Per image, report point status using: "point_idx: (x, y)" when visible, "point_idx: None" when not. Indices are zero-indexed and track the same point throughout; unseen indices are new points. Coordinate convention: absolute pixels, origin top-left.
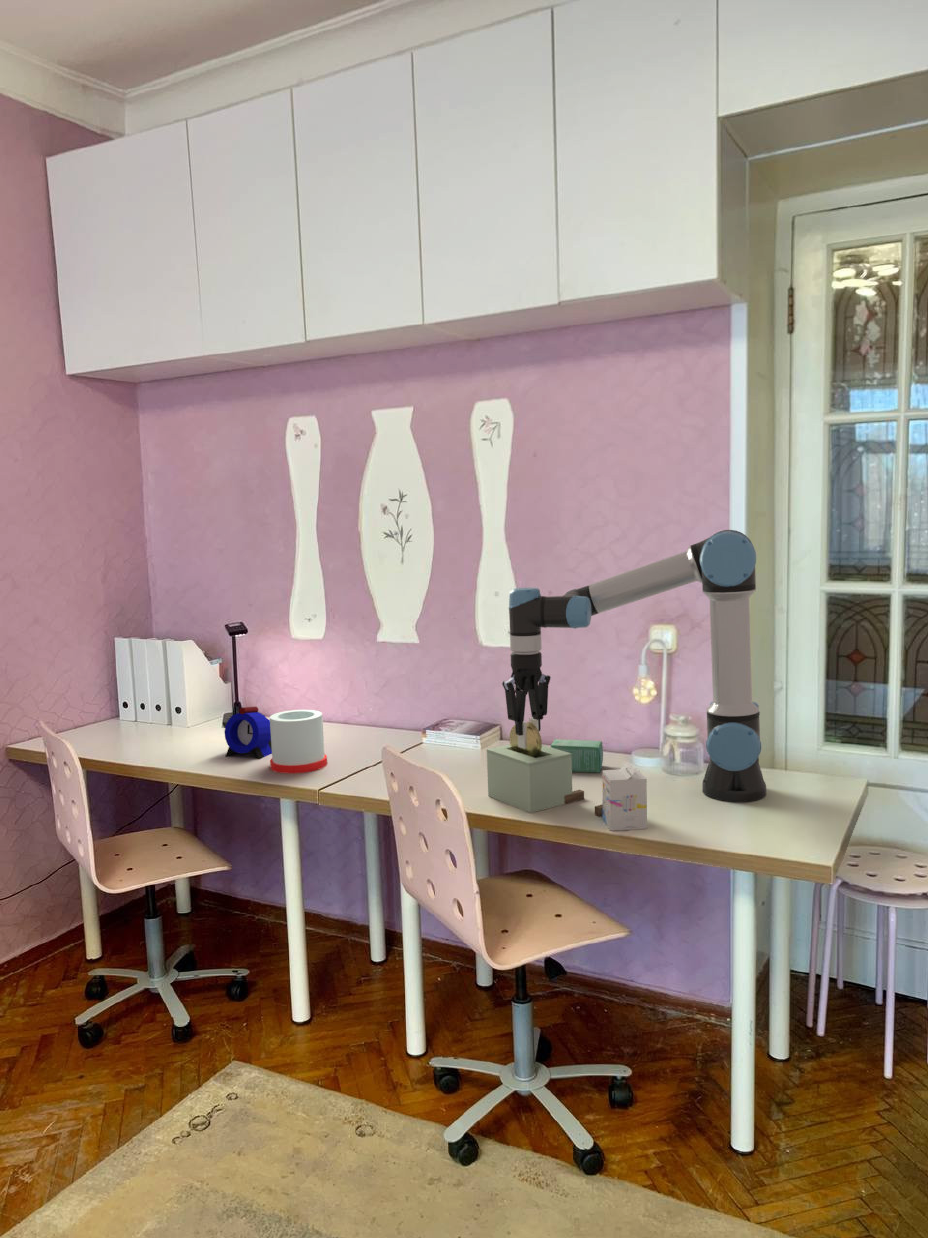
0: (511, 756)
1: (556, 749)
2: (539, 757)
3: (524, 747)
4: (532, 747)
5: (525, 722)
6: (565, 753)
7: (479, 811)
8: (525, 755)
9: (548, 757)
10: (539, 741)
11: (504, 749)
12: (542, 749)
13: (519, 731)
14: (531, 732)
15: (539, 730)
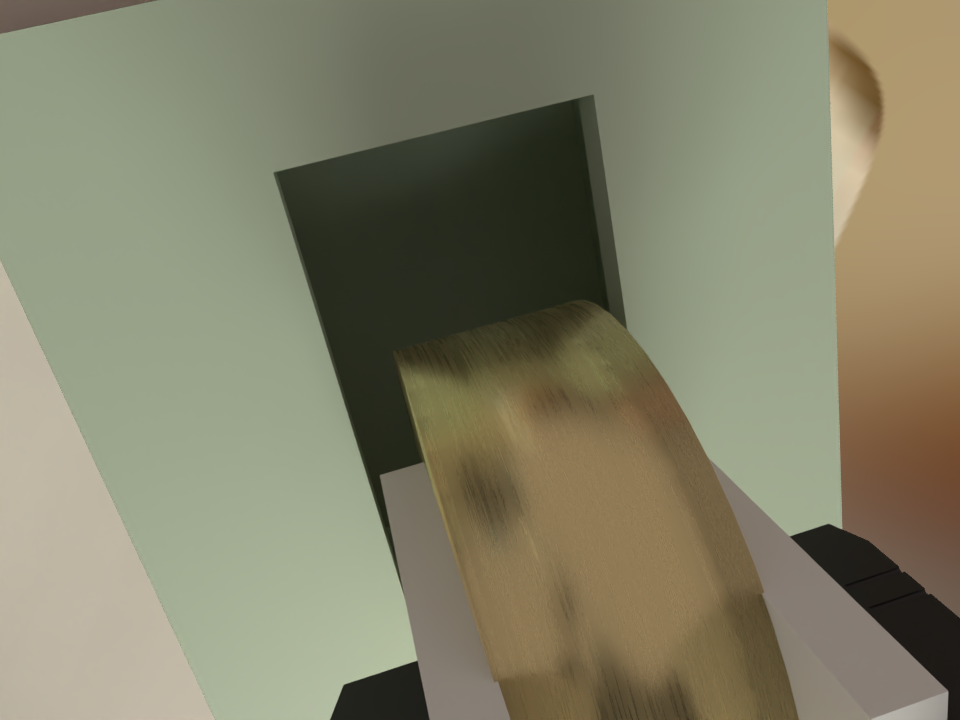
0: (808, 337)
1: (90, 410)
2: (531, 103)
3: None
4: (592, 309)
5: (901, 711)
6: (20, 119)
7: (841, 186)
8: (645, 301)
9: (404, 31)
10: (459, 380)
11: None
12: (298, 484)
13: (888, 569)
14: (653, 512)
15: (355, 697)
